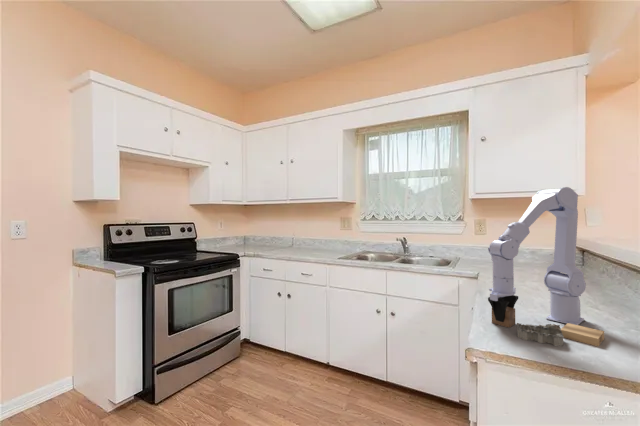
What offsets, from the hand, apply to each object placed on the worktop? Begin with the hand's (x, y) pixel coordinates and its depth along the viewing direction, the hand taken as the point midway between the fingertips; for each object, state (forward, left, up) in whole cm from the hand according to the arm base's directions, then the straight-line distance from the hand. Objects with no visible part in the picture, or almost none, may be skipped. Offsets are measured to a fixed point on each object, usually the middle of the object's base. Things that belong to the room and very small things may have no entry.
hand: (503, 319), depth 93 cm
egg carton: (+4, +11, -2) cm, 12 cm away
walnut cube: (0, 0, -1) cm, 1 cm away
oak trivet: (-6, +18, -2) cm, 19 cm away
